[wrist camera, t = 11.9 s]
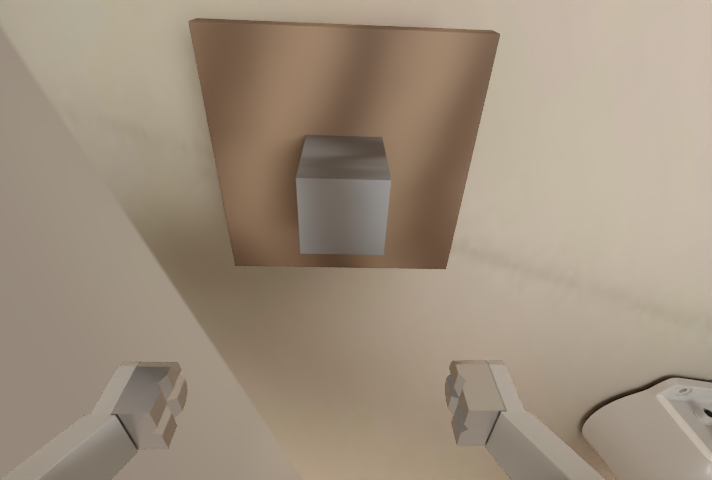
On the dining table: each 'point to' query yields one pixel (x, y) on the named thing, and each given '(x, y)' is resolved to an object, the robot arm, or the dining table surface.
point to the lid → (342, 137)
